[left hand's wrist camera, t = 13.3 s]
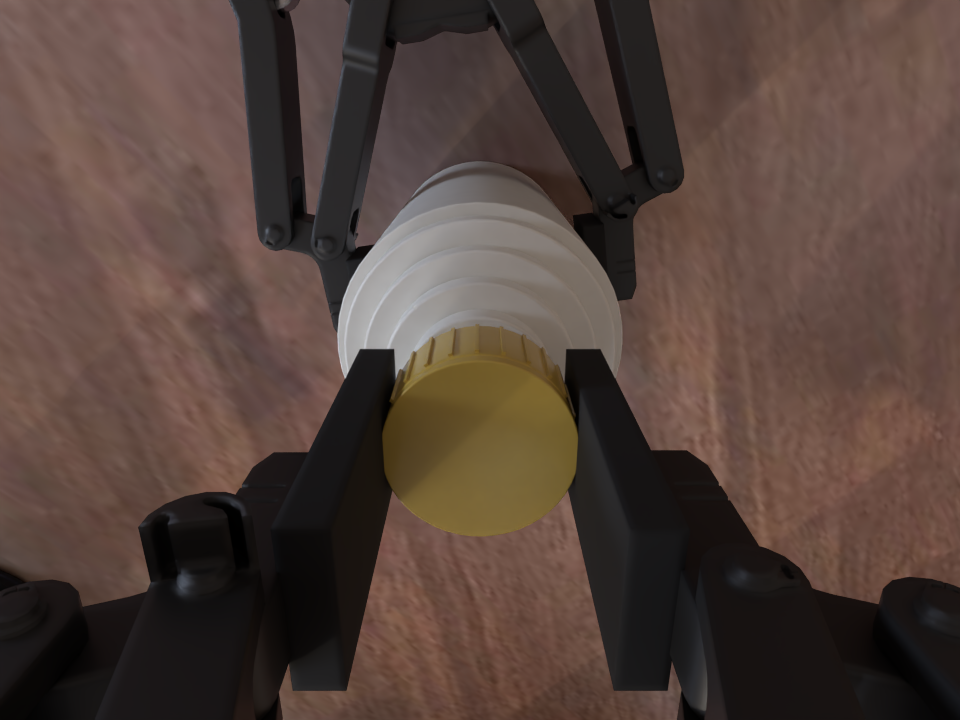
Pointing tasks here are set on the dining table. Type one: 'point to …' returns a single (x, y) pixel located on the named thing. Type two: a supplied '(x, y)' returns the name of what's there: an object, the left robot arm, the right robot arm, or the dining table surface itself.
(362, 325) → the bottle
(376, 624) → the dining table surface
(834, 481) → the dining table surface
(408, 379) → the cap
